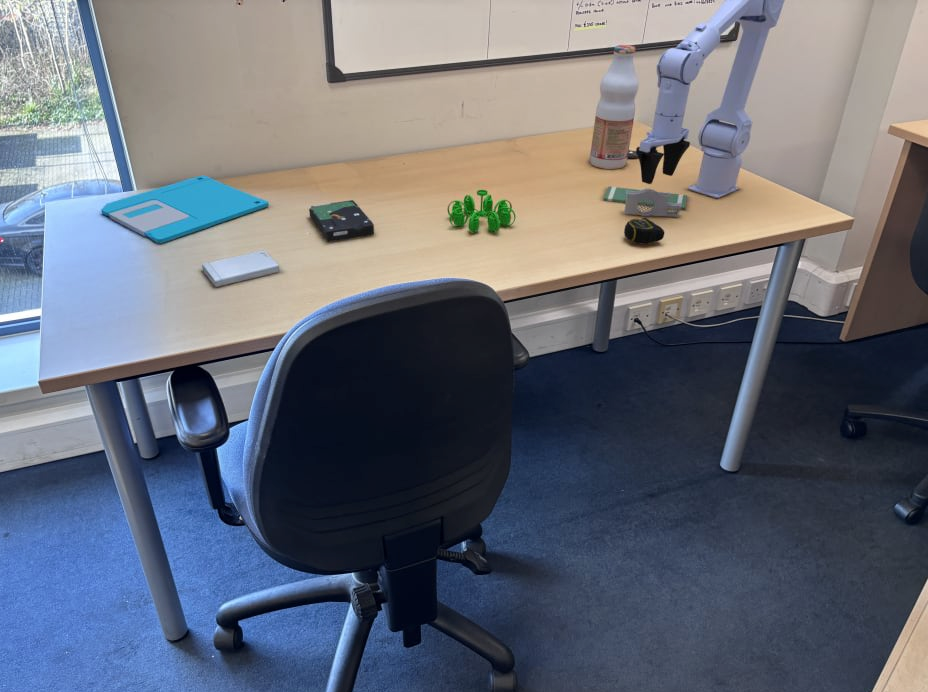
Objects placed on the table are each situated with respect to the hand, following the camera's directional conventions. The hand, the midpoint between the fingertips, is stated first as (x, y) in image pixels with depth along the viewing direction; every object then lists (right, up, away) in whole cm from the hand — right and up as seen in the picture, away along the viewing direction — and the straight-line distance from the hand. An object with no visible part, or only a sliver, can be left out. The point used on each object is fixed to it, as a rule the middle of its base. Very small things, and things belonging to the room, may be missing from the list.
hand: (657, 178), depth 159 cm
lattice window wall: (0, -7, +5) cm, 9 cm away
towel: (+1, -1, +13) cm, 13 cm away
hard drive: (-85, -23, -17) cm, 89 cm away
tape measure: (-5, -14, -6) cm, 16 cm away
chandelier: (-38, -9, +2) cm, 39 cm away
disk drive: (-68, -10, 0) cm, 68 cm away
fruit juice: (-2, +13, +33) cm, 36 cm away
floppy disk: (-104, -5, +8) cm, 104 cm away
